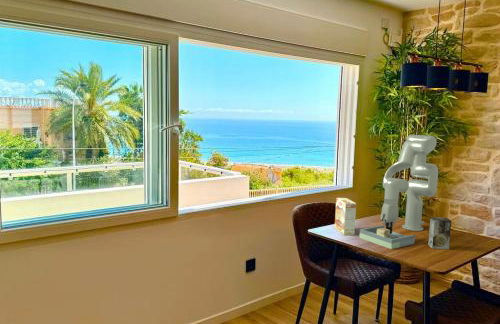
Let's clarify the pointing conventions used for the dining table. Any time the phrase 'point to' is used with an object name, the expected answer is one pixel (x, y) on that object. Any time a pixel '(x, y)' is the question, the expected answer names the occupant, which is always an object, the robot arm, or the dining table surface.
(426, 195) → the robot arm
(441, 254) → the dining table surface
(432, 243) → the coffee box
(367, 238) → the box
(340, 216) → the coffeecake box
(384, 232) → the maple block
